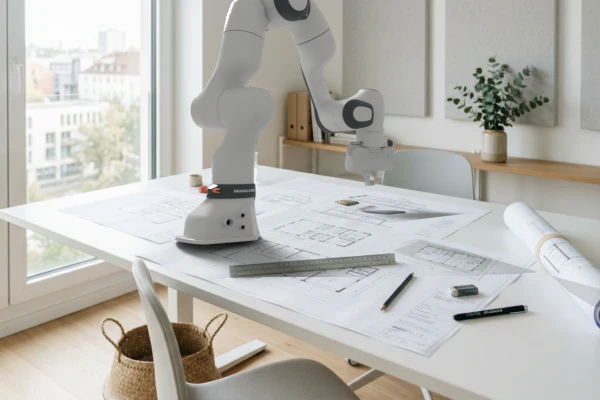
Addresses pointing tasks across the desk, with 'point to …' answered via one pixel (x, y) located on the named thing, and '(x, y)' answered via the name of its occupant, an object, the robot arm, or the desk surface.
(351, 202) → the cuneiform tablet
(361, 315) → the desk surface
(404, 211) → the felt pad
